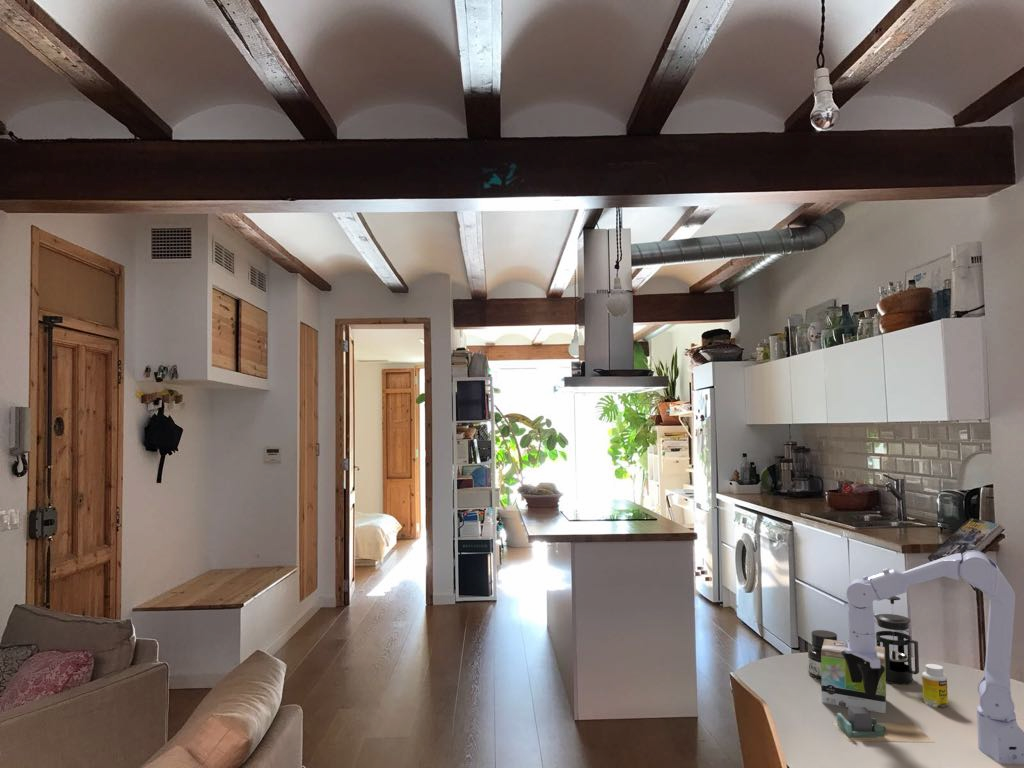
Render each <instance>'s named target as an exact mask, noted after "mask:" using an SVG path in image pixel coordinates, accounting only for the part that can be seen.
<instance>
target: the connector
mask: <svg viewBox="0 0 1024 768" xmlns="http://www.w3.org/2000/svg"><path fill="white" fill-rule="evenodd" d="M871 712H872V711H868V710H867V709H866V708H865V707H847V721H848V722H849V723H850V724H851V730H852V731H866V732H873V725H872V717H873V715H872V713H871ZM883 726H884V725H883ZM885 730H886V728H885V726H884V732H885Z"/></svg>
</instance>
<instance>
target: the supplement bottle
mask: <svg viewBox="0 0 1024 768" xmlns="http://www.w3.org/2000/svg"><path fill="white" fill-rule="evenodd" d="M921 674H922V675H921V676H922V677H921V680H922V681H921V683H922V684H921V685H922V703H923V704H925V705H927V706H929V707H932V708H937V709H944V708H947V707H948V706H949V702H948V697H949V696H948V695H949V694H948V677H947V675H946V674H945V673H944V667H943V666H942V665H941V664H940V665H939V664H935V663H928V664H925V671H923V672H922V673H921Z"/></svg>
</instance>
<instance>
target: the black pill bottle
mask: <svg viewBox="0 0 1024 768" xmlns="http://www.w3.org/2000/svg"><path fill="white" fill-rule="evenodd" d="M810 634H811V647H810V648H809V649H808V651H807V666H808V667H807V668H808V669H807V670H808V674H809V675H810V676H811V675H812V676H811V677H813V678H815V679H818V680H821V649H822V646H823V642H824V639H829V640H836V641H838V634H837V633H836V632H833V631H831V630H830V631H829V630H825V629H823V630H822V629H815V630H813V631H811V633H810Z"/></svg>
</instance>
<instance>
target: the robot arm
mask: <svg viewBox="0 0 1024 768" xmlns="http://www.w3.org/2000/svg"><path fill="white" fill-rule="evenodd" d="M959 576H961V578H962V579H963V581H965V582H966V583H968V584H969V585H971V586H973V587H975V588H977V589H979V591H981V592H982V593H983V594H984V595H985V596H986V597H987V598H988V599H989V606H988V619H987V621H988V622H987V634H986V635H987V636H986V648H985V662H984V669H983V676H982V679H980V681H979V683H978V685H977V691H978V695H979V705H978V706H977V707H976V717H977V746H978V747H977V748H978V750H979V751H980V752H981V753H982V754H984V755H986V756H988V757H989V758H991V759H993V760H994V761H995V762H996V763H998V764H1009V765H1012V764H1013V765H1014V764H1019V765H1024V730H1023V729H1022V728H1021V727H1020V726H1019V725H1018V722H1017V715H1016V712H1015V707H1016V706H1015V703H1014V701H1013V698H1012V691H1011V664H1012V662H1011V661H1012V649H1013V637H1014V636H1013V634H1014V620H1015V607H1016V594H1015V591H1014V590H1013V588H1012V585H1010V583H1009V581H1008V579H1006V577H1005V576H1004V574H1003V573H1002V572H1001V570H1000V568H999V567H998V565H997V564H996V562H995V561H994V560H993V559H991V558H990V557H989V556H987V555H986V554H985V553H984V552H982V551H979V550H973V549H972V550H971V549H970V550H967V551H965V552H963V553H961V552H957V553H953V554H949V555H947V556H943V557H941V558H938V559H935V560H932V561H930V562H927V563H924V564H921V565H919V566H916V567H913V568H911V569H907V570H905V571H901V570H897V569H895V568H892V569H889V567H886V568H883V569H882V572H880V573H877V574H874V575H870V576H868V575H863V576H862V579H861V578H858V579H857V578H856V579H853V580H852V581H851V582H850V583H849V585H848V588H847V590H846V599H847V601H848V603H847V606H848V607H847V608H848V610H847V616H848V617H847V621H848V639H846V640H845V642H846V648H844V651H842V655H843V656H844V658H845V660H846V663H847V666H848V669H849V673H850V677H851V680H852V682H853V683H861V682H862V678H863V684H864V690H865V693H866V695H876V691H877V687H878V683H879V680H880V677H881V676H882V674H883V672H884V671H885V667H884V666H882V665H880V659H879V658H878V656H877V652H876V650H875V646H876V630H875V629H876V627H875V626H876V625H875V612H874V603H873V602H874V601H879V602H880V601H883V600H887V599H886V598H890V597H893V596H896V597H897V596H899V595H902V594H905V593H907V591H908V587H909V586H912V585H916V584H920V583H923V582H928V581H932V580H935V579H938V578H941V577H945V578H949V579H952V580H955V581H960V577H959ZM865 661H866V664H864V662H865Z"/></svg>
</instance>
